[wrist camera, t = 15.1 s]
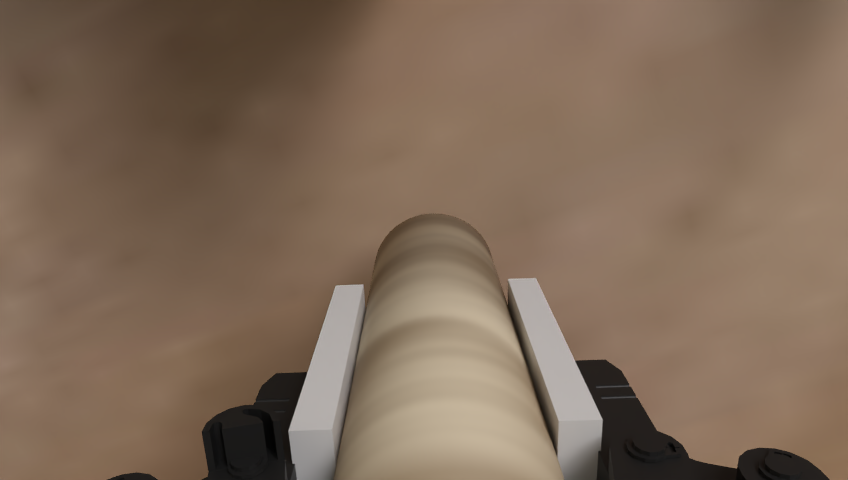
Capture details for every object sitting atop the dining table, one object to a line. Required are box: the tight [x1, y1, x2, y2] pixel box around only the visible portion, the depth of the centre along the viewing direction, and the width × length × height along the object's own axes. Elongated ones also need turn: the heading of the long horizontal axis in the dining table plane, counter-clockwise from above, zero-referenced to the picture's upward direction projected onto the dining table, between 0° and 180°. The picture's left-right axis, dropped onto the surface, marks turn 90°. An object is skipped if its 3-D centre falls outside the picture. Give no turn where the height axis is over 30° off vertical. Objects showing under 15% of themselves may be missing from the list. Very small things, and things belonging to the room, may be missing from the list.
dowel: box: [333, 214, 564, 480], centre depth 14 cm, size 4×4×16 cm
